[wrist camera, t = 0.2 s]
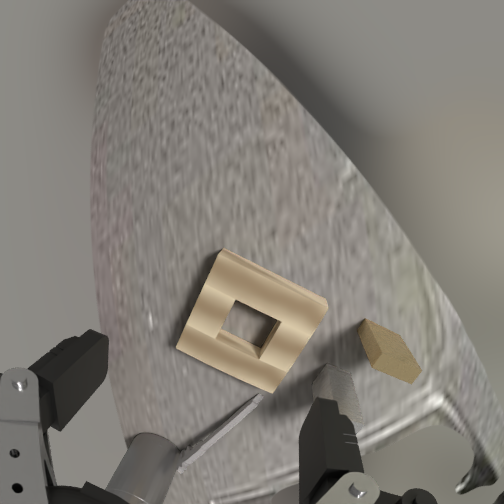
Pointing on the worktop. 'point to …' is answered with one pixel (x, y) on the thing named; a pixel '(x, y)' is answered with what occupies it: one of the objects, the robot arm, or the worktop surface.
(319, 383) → the square bit
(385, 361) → the light brown wooden block
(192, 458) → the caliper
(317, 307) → the socket block
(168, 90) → the worktop surface
